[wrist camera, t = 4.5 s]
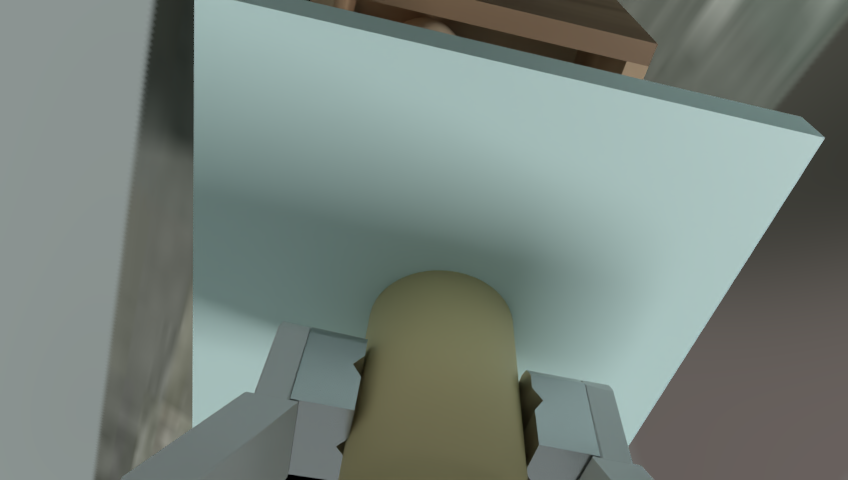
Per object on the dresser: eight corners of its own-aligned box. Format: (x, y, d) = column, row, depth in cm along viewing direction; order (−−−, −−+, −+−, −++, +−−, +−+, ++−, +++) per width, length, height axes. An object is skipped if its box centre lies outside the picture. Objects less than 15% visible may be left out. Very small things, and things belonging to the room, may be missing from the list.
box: (350, -70, 21) (314, -39, 16) (611, -6, 21) (658, 43, 16) (315, 191, 26) (279, 276, 21) (523, 235, 27) (538, 328, 22)
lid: (233, -35, 10) (32, 95, 6) (776, 94, 11) (1016, 309, 6) (217, 392, 16) (113, 634, 11) (571, 457, 17) (612, 710, 12)
